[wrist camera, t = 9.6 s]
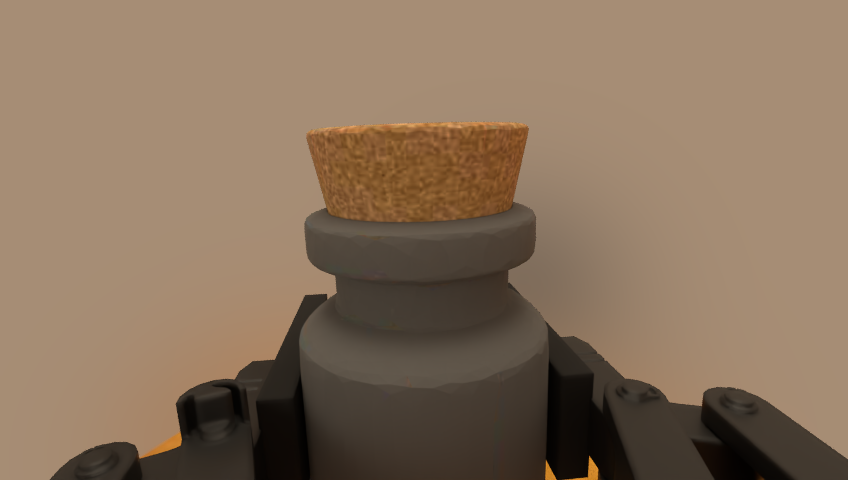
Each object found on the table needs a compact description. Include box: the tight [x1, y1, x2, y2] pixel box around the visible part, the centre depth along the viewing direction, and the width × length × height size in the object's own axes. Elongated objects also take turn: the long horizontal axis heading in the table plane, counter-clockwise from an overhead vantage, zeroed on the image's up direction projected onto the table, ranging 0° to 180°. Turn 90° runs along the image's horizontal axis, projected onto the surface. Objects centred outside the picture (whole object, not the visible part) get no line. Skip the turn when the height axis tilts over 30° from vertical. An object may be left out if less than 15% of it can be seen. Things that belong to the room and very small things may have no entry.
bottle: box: [299, 122, 549, 480], centre depth 11 cm, size 6×6×15 cm
